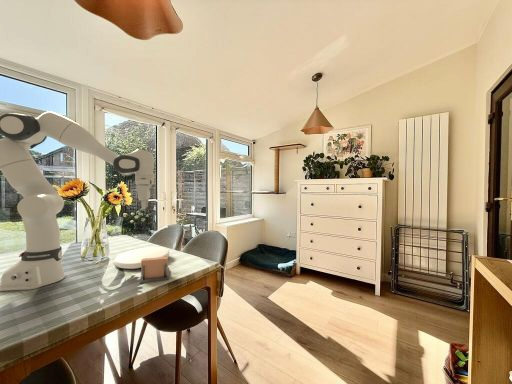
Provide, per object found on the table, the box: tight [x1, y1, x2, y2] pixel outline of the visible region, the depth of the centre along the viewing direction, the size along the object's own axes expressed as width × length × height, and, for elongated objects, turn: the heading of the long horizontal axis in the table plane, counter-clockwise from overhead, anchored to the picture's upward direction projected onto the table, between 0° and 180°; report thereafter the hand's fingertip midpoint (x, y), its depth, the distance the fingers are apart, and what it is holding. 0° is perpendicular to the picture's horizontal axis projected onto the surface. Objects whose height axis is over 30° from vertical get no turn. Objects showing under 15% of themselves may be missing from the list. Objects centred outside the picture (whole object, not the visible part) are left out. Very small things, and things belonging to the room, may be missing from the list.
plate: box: [113, 246, 170, 270], centre depth 127 cm, size 28×6×27 cm
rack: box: [139, 256, 170, 284], centre depth 108 cm, size 12×13×7 cm
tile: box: [140, 256, 169, 279], centre depth 105 cm, size 11×3×8 cm, turn 110°
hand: (144, 208), depth 118 cm, fingers open, 8 cm apart
